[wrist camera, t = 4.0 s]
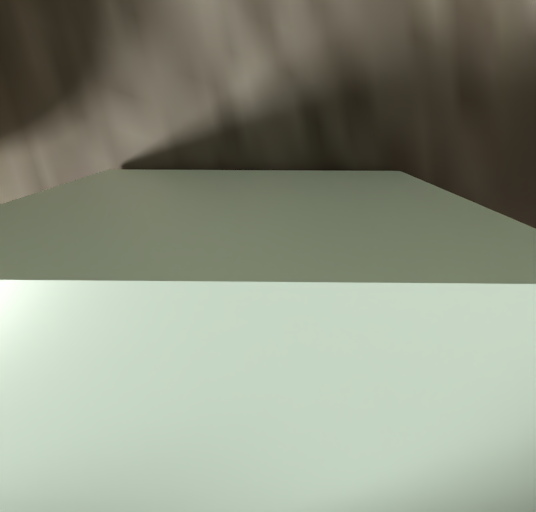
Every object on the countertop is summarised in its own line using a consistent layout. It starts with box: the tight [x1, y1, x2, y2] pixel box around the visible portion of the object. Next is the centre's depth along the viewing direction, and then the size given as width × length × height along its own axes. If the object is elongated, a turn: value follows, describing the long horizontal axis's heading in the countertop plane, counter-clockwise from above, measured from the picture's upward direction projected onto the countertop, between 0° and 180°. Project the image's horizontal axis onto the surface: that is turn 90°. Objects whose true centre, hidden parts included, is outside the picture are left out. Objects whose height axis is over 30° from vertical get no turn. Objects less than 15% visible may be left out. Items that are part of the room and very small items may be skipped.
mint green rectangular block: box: [0, 169, 536, 512], centre depth 8 cm, size 12×7×7 cm, turn 0°
